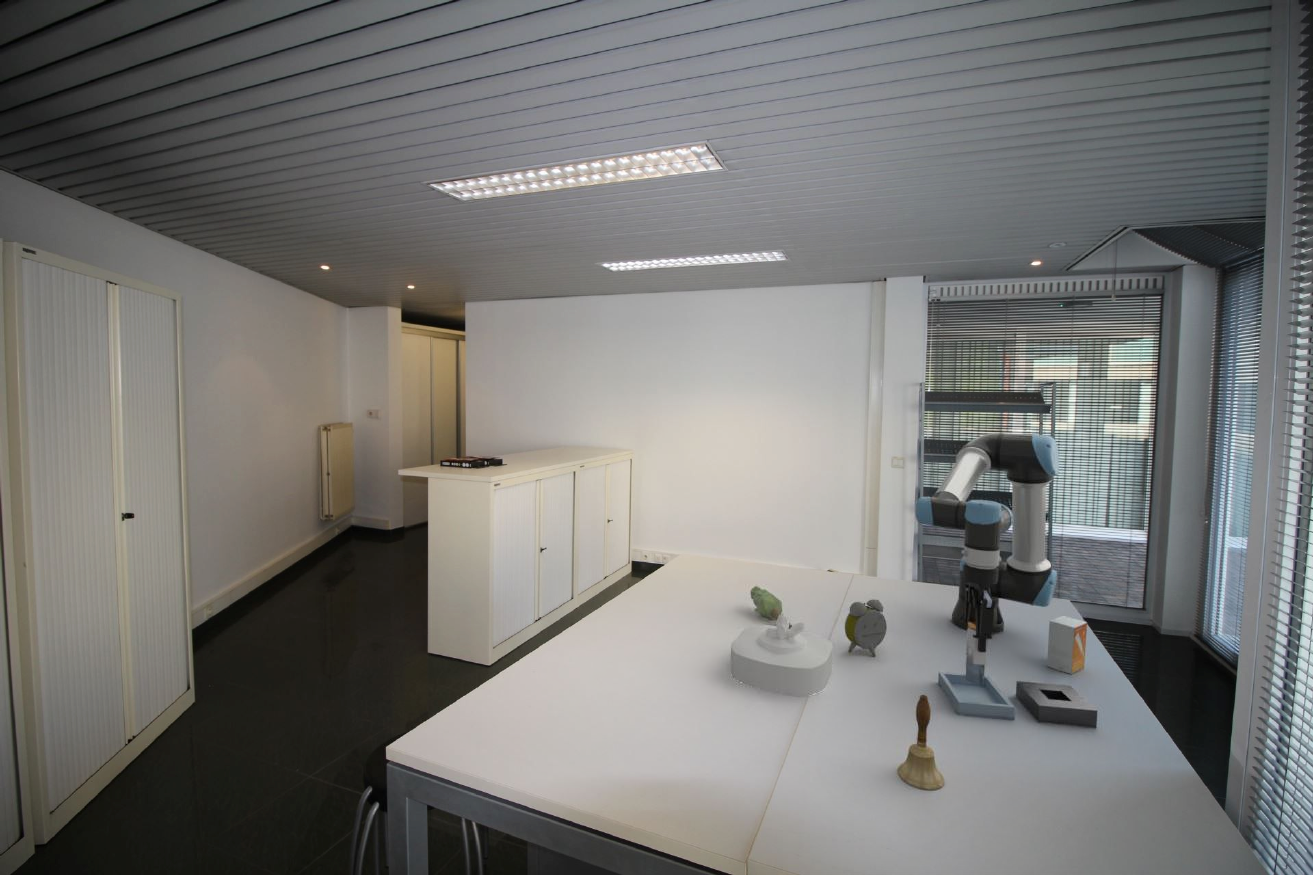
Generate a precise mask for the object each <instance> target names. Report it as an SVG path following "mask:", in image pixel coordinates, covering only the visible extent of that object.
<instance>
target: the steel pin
mask: <svg viewBox="0 0 1313 875" xmlns="http://www.w3.org/2000/svg"><path fill="white" fill-rule="evenodd" d="M973 635H976V621H969V622H968V636H967V635H966V646H967V655H966V660H965V674H966V677H965V679H966V680H967V681H968V682H971V683H974V684H983V683H984V676H985V670H986V668H985V667H986V665H981V664H974V663H973V648H974V638H973Z"/></svg>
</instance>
